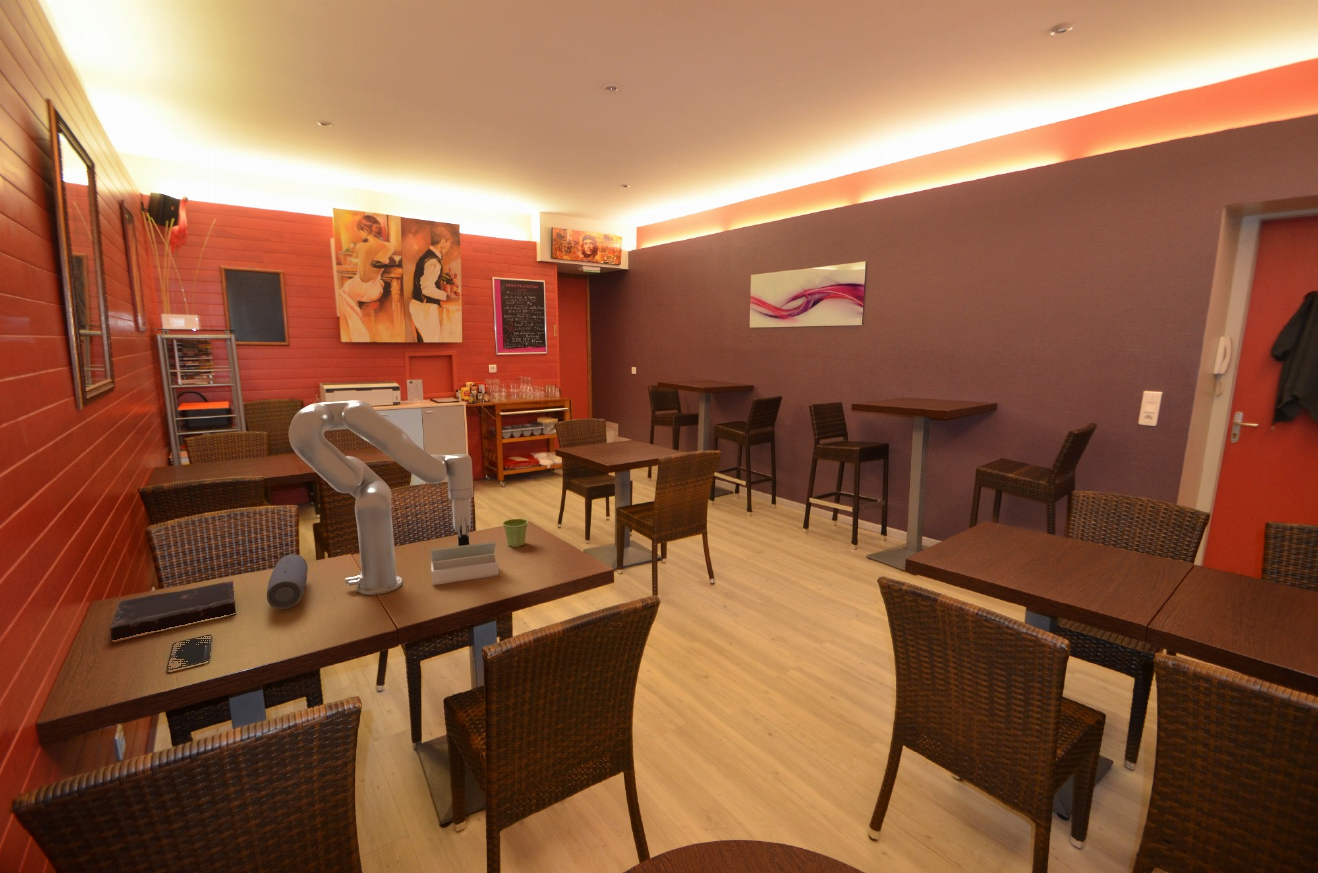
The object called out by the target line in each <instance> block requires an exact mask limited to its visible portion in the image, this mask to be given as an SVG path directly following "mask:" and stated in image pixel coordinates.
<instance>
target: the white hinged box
mask: <svg viewBox="0 0 1318 873" xmlns="http://www.w3.org/2000/svg"><path fill="white" fill-rule="evenodd" d="M430 565H431V566H430V568H431V581H432V582H431V584H432V586H437V585H445V584H451V583H457V582H464V581H470V580H477V579H485V578H490V577H497V576H499V575H500V574H499V561H498V559H497V556H496V554H495V553H494V554H488V555H481V556H473V557H466V558H458V559H451V560H444V561H436V562H432V561H431V562H430Z"/></svg>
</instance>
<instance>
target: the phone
mask: <svg viewBox="0 0 1318 873" xmlns="http://www.w3.org/2000/svg"><path fill="white" fill-rule="evenodd" d="M204 636H211V637H210V638H211V639H196V638H201V637H202V638H203V637H204ZM204 638H205V637H204ZM206 638H207V637H206ZM208 638H209V637H208ZM186 640H190V641H186ZM201 640H202V641H201ZM203 640H204V641H203ZM205 640H206V641H205ZM207 640H208V641H207ZM209 640H210V641H209ZM177 642H185V643H181V644H185V645H181V647H173V646H174V644H176V643H177ZM186 642H187V643H186ZM188 642H189V643H188ZM198 642H199V643H198ZM200 642H203V643H200ZM204 642H208V643H204ZM209 642H210V643H209ZM211 642H212V643H213V635H212V634H205V635H201V636H197V637H192V638H187V639H182V640H180V641H176V642H174V643H172V645H171V649H170V653H169V658H168V661H167V666H166V671H167V670H173V669H178V668H182V667H187V666H191V665H196V664H199V663H204V662H206V661H209V659H210V660H211V658H210V657H211V656H210V652H211V653H212V647H211ZM179 644H180V643H179ZM196 644H197V645H196ZM198 644H199V645H198ZM175 646H176V645H175ZM177 646H178V645H177ZM179 646H180V645H179ZM205 646H206V647H205ZM173 648H180V649H173ZM172 650H178V651H172ZM182 650H183V651H182ZM172 652H176V653H172ZM171 654H174V655H171ZM174 656H175V657H174ZM176 656H177V657H176ZM171 658H176V659H184V660H181V661H183V662H181V663H186V664H181V666H179V667H177V668H172V669H171V668H170V669H169V668H168V667H171V666H168V665H169V661H170V659H171ZM172 661H180V660H172ZM184 661H185V662H184ZM186 661H188V662H186ZM171 663H172V662H171ZM173 663H174V662H173ZM178 663H180V662H178ZM182 665H186V666H182Z"/></svg>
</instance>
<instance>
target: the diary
mask: <svg viewBox="0 0 1318 873" xmlns="http://www.w3.org/2000/svg"><path fill="white" fill-rule="evenodd" d="M234 592H235V588H234V580H229V581H224V582H223V581H222V582H220V583H219V582H218V583H213V584H209V585H204V586H198V587H193V588H188V589H183V590H177V591H170V592H163V593H162V592H161V593H156V594H149V595H145V596H139V597H133V598H130V599H125V600H120V601H118V604H117V607H116V609H115V612H114V616H113V617H112V618H113V619H112V621H111V622H112V623H111V626H110V627H109V628H110V630H109V631H110V639H111V641H112V640H117V639H120V638H125V637H129V636H133V635H136V634H141V633H145V632H151V631H157V630H161V629H166V628H169V627H175V626H179V625H185V624H188V623H193V622H197V621H201V620H205V619H210V618H215V617H221V616H224V615H230V614H233V613H236V614H237V609H236V604H235V603H236V601H235V602H234Z"/></svg>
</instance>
